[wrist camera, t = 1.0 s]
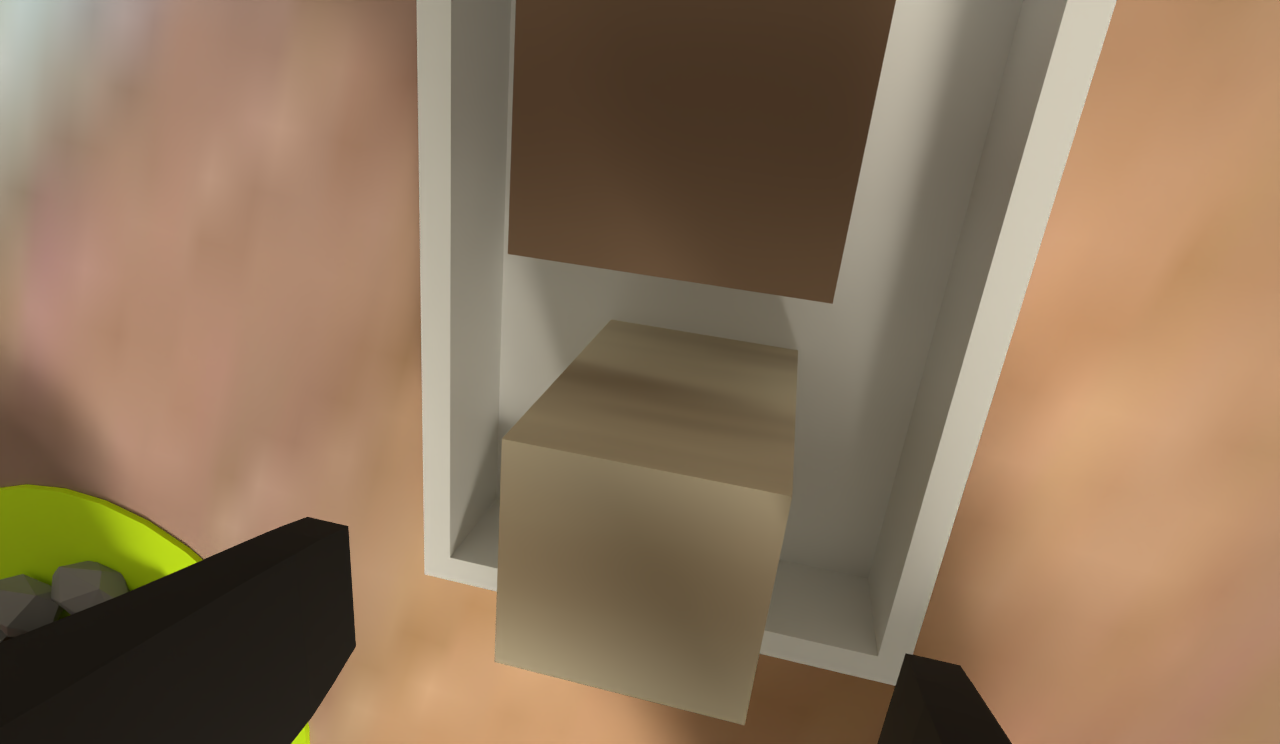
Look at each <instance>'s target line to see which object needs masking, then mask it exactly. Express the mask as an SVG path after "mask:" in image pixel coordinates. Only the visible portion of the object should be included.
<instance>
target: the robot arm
mask: <svg viewBox="0 0 1280 744" xmlns="http://www.w3.org/2000/svg"><path fill="white" fill-rule="evenodd" d="M355 647H356V641H355V626H354V610H353V594H352V578H351V563H350V547H349V531H348V526H345V525H341V524H336V523H332V522H327V521H323V520H319V519H314V518H310V517H306V518H303V519H301V520H298V521H295V522H292V523H289V524H287V525H284V526H282V527H279V528H277V529H274V530H272V531H269V532H267V533H264V534H262V535H260V536H257V537H255V538H253V539H250V540H248V541H245V542H243V543H241V544H239V545H236V546H234V547H232V548H229V549H227V550H225V551H222V552H220V553H218V554H215V555H213V556H211V557H209V558H206V559H204V560H202V561H199V562H197V563H195V564H192V565H190V566H188V567H185V568H183V569H181V570H178V571H176V572H174V573H171V574H169V575H167V576H164V577H162V578H160V579H157V580H155V581H153V582H150V583H148V584H146V585H143V586H141V587H139V588H136V589H134V590H132V591H129V592H127V593H125V594H122V595H120V596H117V597H115V598H112V599H110V600H107V601H105V602H102V603H100V604H97V605H95V606H92V607H90V608H87V609H85V610H82V611H80V612H77V613H75V614H72V615H69V616H67V617H64V618H62V619H59V620H57V621H54V622H52V623H49V624H47V625H44V626H42V627H39V628H37V629H34V630H32V631H29V632H27V633H24V634H22V635H19V636H17V637H14V638H11V639H9V640H6V641H3V642H1V643H0V744H291V743H292V742H293V741H294V739H295V738H296V737H297V736H298V734H299V733H300V732H301V730H302V729H303V728H304V727H305V725H306V724H307V723H308V721H309V720H310V719H311V717H312V716H313V714H314V713H315V711H316V710H317V708H318V707H319V705H320V704H321V702H322V701H323V699H324V697H325V696H326V694H327V693H328V691H329V690H330V688H331V687H332V685H333V683H334V682H335V680H336V678H337V677H338V675H339V673H340V672H341V670H342V668H343V667H344V665H345V663H346V662H347V660H348V658H349V657H350V655H351V653H352V652H353V650H354V648H355ZM878 744H1012V743H1011V742H1010V740H1009V738H1008V737H1007V735H1006V734H1005V732H1004V731H1003V729H1002V728H1001V726H1000V725H999V723H998V722H997V720H996V719H995V717H994V716H993V714H992V713H991V711H990V710H989V708H988V707H987V705H986V703H985V702H984V700H983V699H982V697H981V696H980V694H979V693H978V691H977V690H976V688H975V687H974V685H973V684H972V682H971V681H970V679H969V678H968V676H967V675H966V673H965V672H964V671H963V669H962V668H961V666H960V665H955V664H951V663H946V662H942V661H938V660H933V659H929V658H924V657H920V656H916V655H911V654H907V653H905V657H904V660H903V663H902V666H901V670H900V673H899V676H898V679H897V683H896V686H895V689H894V692H893V696H892V699H891V702H890V705H889V709H888V712H887V715H886V718H885V721H884V725H883V728H882V731H881V734H880V738H879V741H878Z"/></svg>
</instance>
